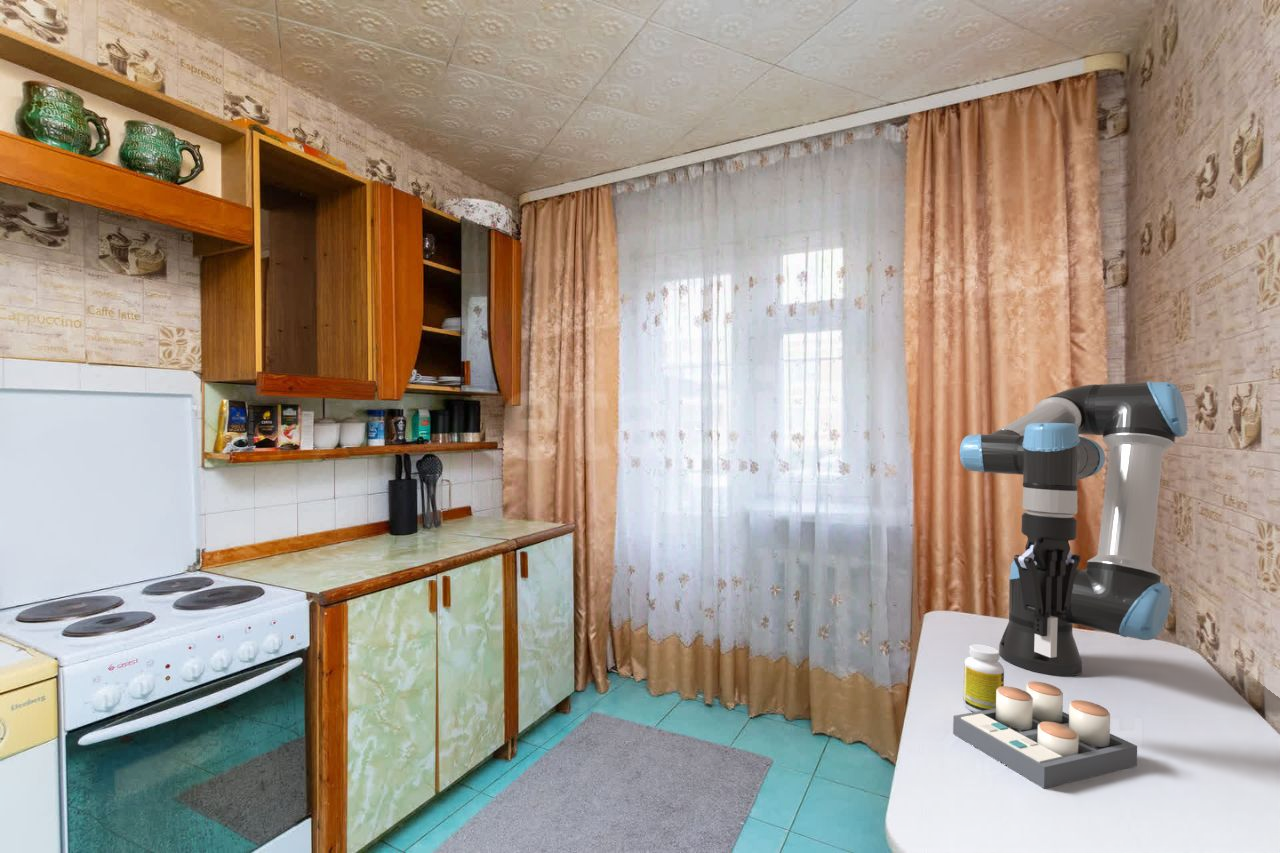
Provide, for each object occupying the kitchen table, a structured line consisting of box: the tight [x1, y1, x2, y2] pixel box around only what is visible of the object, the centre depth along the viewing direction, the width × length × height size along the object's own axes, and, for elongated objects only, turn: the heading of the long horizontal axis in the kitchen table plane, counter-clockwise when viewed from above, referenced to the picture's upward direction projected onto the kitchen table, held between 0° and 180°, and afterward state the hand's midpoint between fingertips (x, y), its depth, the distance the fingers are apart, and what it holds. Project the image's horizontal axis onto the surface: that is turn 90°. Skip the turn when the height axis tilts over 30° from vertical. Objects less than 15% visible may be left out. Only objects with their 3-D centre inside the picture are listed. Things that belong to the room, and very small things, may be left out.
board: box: [952, 708, 1138, 790], centre depth 90 cm, size 20×15×3 cm
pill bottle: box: [963, 643, 1005, 713], centre depth 102 cm, size 6×6×11 cm
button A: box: [1025, 681, 1064, 724], centre depth 95 cm, size 5×5×5 cm
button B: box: [1068, 699, 1111, 747], centre depth 88 cm, size 5×5×5 cm
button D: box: [1037, 722, 1079, 757], centre depth 86 cm, size 5×5×5 cm
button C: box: [996, 685, 1033, 730], centre depth 92 cm, size 5×5×5 cm
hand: (1045, 654), depth 95 cm, fingers closed
